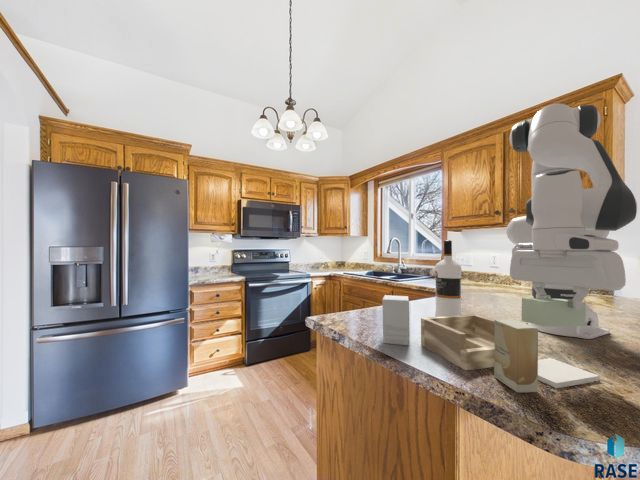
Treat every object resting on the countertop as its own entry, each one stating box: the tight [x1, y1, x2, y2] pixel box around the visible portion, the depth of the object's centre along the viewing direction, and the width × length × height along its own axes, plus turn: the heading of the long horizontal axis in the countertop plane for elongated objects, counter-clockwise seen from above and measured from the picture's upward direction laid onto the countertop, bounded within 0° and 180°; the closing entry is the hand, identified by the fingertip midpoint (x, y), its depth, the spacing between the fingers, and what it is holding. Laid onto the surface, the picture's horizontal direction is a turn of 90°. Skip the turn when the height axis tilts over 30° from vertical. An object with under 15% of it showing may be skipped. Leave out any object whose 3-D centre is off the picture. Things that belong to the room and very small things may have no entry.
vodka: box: [434, 239, 463, 317], centre depth 92 cm, size 9×9×30 cm
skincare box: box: [493, 318, 539, 394], centre depth 53 cm, size 6×4×12 cm
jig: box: [420, 313, 496, 371], centre depth 69 cm, size 18×16×8 cm
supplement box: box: [381, 294, 411, 346], centre depth 78 cm, size 7×7×13 cm
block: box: [521, 297, 587, 326], centre depth 57 cm, size 12×4×5 cm, turn 105°
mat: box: [538, 357, 601, 389], centre depth 57 cm, size 12×9×1 cm
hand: (558, 305), depth 58 cm, fingers closed on block, 4 cm apart
